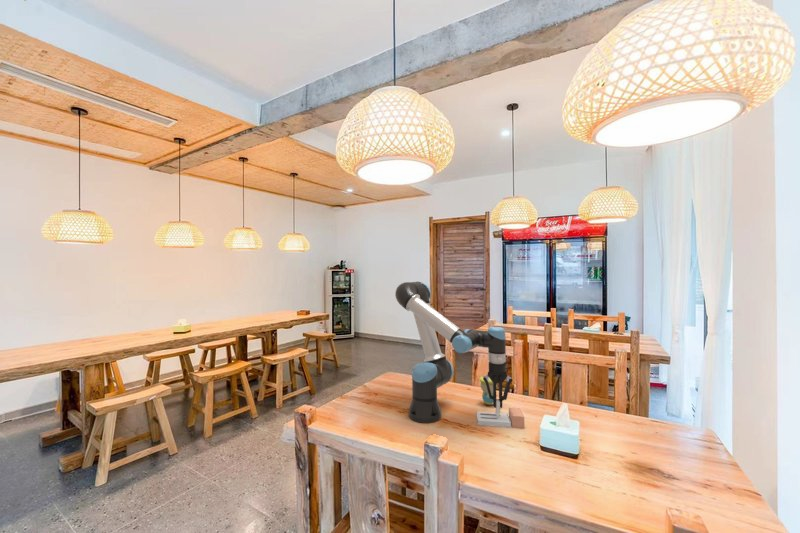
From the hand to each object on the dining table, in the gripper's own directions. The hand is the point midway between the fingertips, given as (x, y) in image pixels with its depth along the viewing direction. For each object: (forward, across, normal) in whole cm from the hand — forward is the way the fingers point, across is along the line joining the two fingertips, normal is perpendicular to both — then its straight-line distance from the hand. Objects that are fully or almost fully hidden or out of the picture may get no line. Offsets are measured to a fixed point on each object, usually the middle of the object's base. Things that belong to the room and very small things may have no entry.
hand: (497, 414), depth 143 cm
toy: (+4, -2, +19) cm, 19 cm away
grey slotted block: (+3, -2, 0) cm, 4 cm away
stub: (+3, +8, 0) cm, 9 cm away
